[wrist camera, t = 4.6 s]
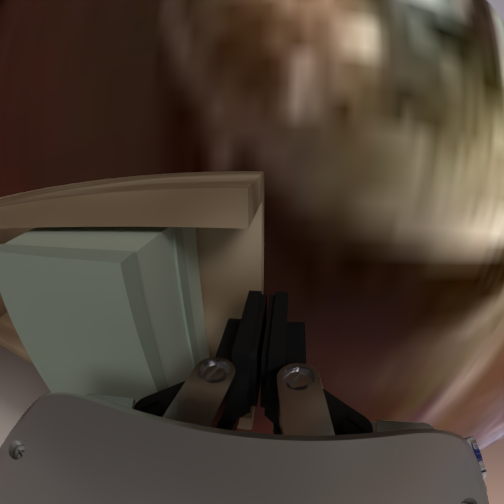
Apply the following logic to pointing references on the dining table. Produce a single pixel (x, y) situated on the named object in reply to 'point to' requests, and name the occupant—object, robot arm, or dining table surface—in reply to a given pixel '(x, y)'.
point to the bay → (162, 215)
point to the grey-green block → (107, 306)
